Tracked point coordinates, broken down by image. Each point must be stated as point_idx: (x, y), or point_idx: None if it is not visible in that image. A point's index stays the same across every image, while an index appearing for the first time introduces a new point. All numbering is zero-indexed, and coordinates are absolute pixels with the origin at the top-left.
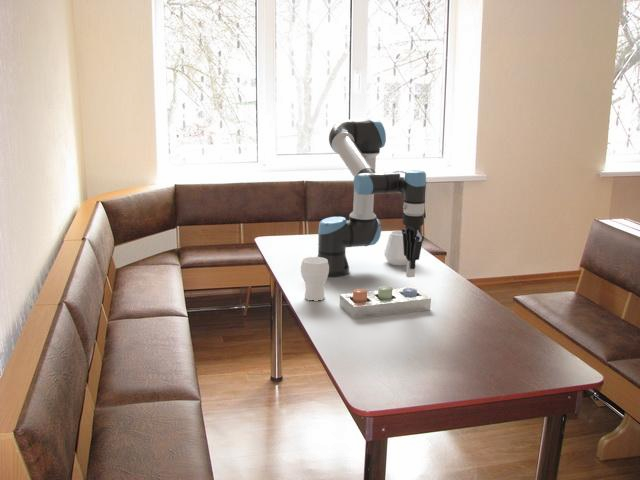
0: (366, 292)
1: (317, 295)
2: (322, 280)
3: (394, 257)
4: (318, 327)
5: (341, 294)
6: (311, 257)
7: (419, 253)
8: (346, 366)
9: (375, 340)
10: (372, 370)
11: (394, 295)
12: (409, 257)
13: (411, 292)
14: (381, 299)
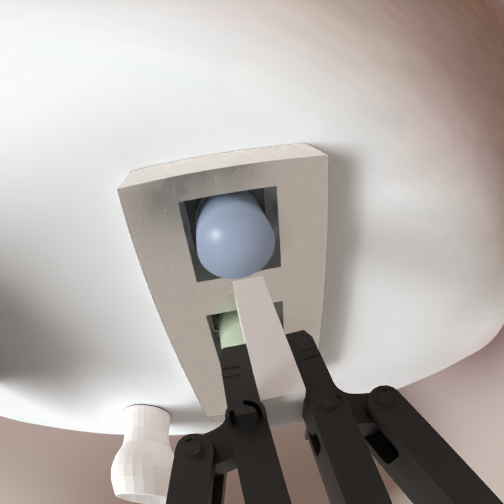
0: None
1: (168, 425)
2: (171, 456)
3: None
4: None
5: (209, 415)
6: (120, 497)
7: (435, 436)
8: (443, 360)
9: (413, 334)
10: (466, 335)
11: None
12: (312, 442)
13: (272, 247)
14: None
